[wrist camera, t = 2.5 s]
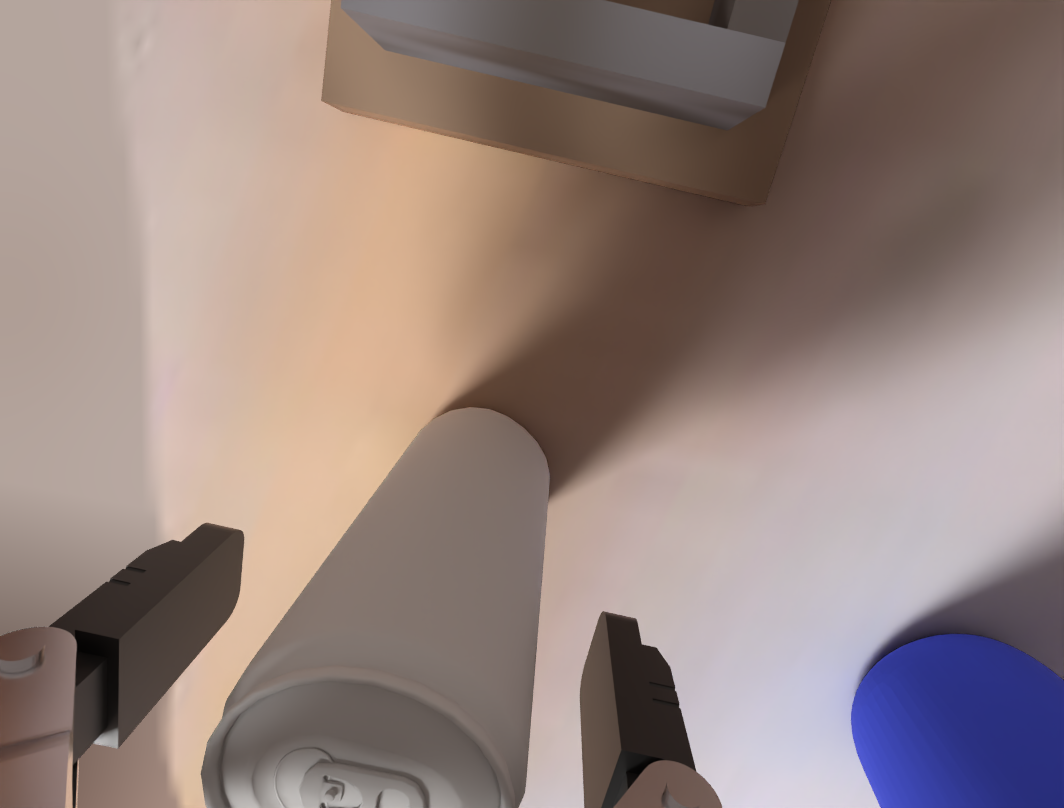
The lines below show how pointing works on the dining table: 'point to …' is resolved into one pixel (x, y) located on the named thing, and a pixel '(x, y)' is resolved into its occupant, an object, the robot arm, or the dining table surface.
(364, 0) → the can holder
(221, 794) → the beverage can
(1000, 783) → the mug
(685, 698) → the dining table surface
